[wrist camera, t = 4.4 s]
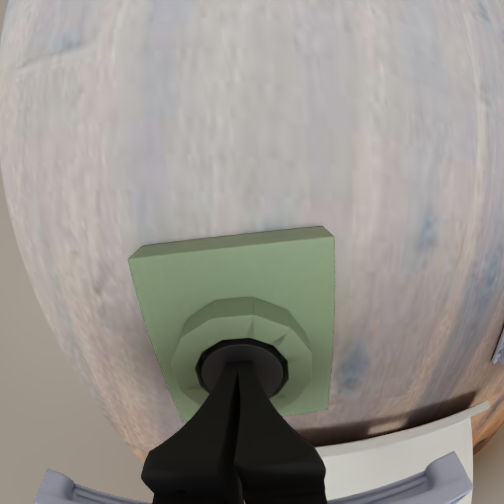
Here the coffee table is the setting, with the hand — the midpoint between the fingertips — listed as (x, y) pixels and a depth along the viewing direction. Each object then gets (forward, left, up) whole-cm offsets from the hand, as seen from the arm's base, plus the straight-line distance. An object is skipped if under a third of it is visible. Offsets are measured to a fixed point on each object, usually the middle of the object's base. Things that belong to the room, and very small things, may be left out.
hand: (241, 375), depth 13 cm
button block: (0, 0, -4) cm, 4 cm away
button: (0, 0, -2) cm, 2 cm away
